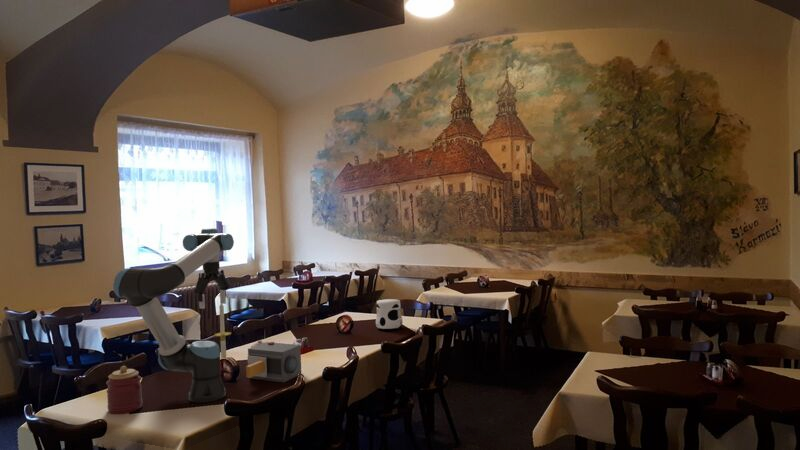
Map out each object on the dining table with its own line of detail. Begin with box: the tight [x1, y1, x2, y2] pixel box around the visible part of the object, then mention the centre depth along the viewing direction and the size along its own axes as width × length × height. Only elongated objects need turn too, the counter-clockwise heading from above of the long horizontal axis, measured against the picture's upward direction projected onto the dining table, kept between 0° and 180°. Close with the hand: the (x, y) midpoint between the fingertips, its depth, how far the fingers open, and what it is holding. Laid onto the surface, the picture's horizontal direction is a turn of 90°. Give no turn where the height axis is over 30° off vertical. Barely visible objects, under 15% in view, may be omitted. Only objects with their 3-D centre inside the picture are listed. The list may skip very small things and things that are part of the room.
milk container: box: [375, 298, 403, 331], centre depth 369 cm, size 17×17×18 cm
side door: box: [245, 355, 267, 379], centre depth 262 cm, size 12×10×9 cm
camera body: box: [247, 341, 302, 383], centre depth 272 cm, size 15×22×15 cm
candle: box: [213, 304, 232, 360], centre depth 299 cm, size 10×10×32 cm
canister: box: [105, 365, 144, 415], centre depth 234 cm, size 13×13×18 cm
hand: (212, 306), depth 271 cm, fingers open, 13 cm apart
